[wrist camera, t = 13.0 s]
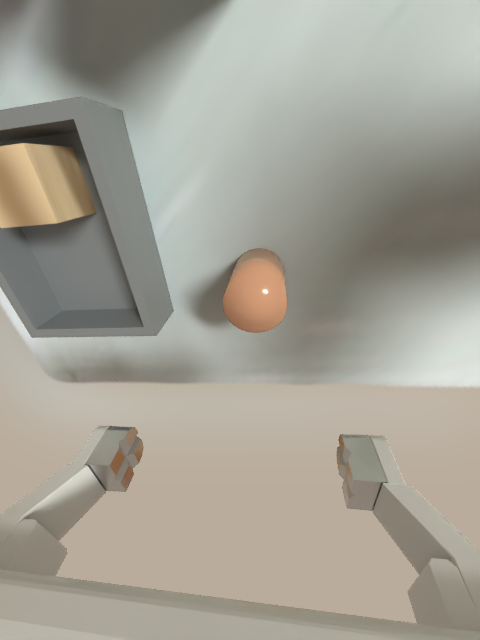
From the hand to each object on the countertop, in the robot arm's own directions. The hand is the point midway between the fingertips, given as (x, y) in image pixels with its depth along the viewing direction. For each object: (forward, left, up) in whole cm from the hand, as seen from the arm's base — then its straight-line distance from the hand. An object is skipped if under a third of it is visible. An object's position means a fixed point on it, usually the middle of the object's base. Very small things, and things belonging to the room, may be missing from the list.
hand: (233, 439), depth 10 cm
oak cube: (+17, -9, -17) cm, 26 cm away
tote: (+17, -5, -18) cm, 25 cm away
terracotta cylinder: (0, 0, -18) cm, 18 cm away
